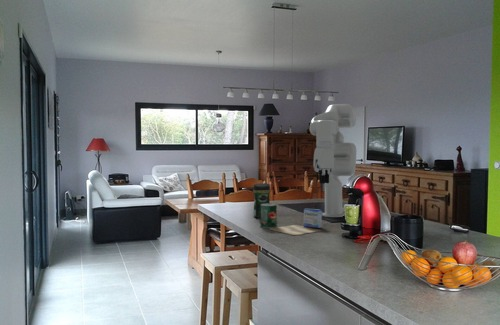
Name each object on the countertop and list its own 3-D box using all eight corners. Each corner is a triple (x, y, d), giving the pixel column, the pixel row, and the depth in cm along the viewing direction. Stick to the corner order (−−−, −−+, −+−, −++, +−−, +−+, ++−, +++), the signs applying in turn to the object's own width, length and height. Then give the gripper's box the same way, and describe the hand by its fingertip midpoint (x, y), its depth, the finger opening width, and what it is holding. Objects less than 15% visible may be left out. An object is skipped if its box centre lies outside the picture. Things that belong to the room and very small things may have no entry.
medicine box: (302, 226, 219) (303, 208, 220) (306, 226, 223) (306, 208, 223) (318, 228, 215) (319, 209, 216) (321, 227, 219) (322, 209, 220)
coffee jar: (269, 215, 256) (269, 182, 255) (271, 217, 248) (271, 183, 247) (252, 215, 255) (251, 182, 254) (254, 218, 247) (254, 184, 246)
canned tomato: (275, 228, 218) (275, 205, 218) (259, 227, 220) (259, 205, 219) (277, 225, 226) (277, 203, 226) (262, 224, 228) (262, 203, 227)
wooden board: (295, 225, 225) (295, 224, 225) (320, 231, 210) (320, 230, 210) (269, 229, 216) (269, 228, 216) (293, 235, 201) (293, 234, 201)
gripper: (330, 145, 229) (330, 181, 230) (306, 145, 220) (307, 183, 221) (341, 145, 223) (341, 182, 224) (317, 145, 214) (317, 184, 215)
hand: (324, 182), depth 223 cm, fingers closed
